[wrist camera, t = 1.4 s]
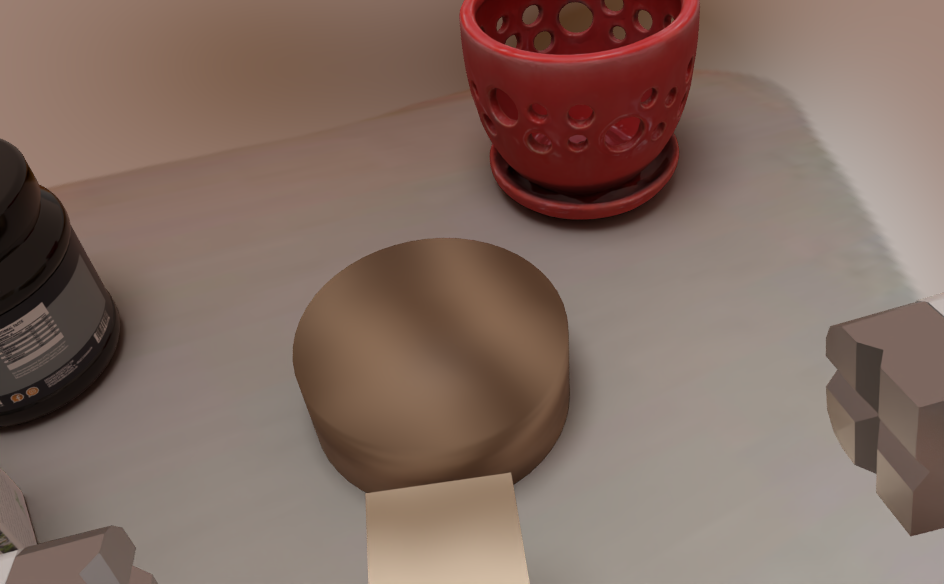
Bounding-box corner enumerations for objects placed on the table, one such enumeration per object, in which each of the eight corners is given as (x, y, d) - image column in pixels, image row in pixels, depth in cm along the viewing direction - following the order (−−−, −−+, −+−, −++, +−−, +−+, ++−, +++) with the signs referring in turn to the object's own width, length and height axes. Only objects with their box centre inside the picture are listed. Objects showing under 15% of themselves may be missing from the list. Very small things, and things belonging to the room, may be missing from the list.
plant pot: (705, 128, 59) (726, -47, 51) (650, 261, 51) (664, 79, 43) (520, 97, 64) (510, -70, 55) (442, 214, 55) (417, 40, 47)
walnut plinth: (371, 556, 40) (350, 497, 37) (282, 361, 49) (258, 298, 45) (619, 436, 43) (623, 370, 40) (495, 272, 52) (489, 206, 48)
